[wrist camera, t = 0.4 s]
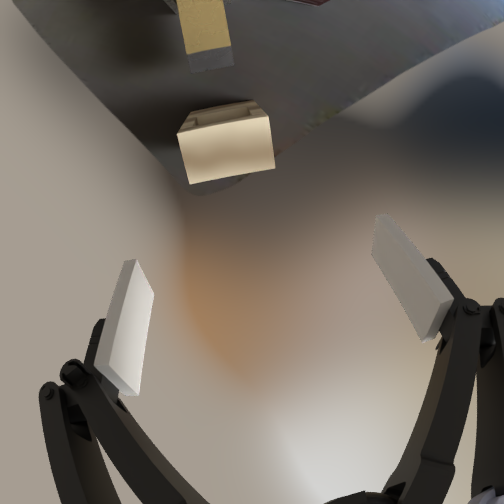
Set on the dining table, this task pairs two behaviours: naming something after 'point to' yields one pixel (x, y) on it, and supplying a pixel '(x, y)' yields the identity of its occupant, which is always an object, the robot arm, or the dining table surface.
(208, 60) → the yellow square bar
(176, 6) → the sleeve
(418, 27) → the dining table surface
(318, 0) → the supplement box
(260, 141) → the socket
